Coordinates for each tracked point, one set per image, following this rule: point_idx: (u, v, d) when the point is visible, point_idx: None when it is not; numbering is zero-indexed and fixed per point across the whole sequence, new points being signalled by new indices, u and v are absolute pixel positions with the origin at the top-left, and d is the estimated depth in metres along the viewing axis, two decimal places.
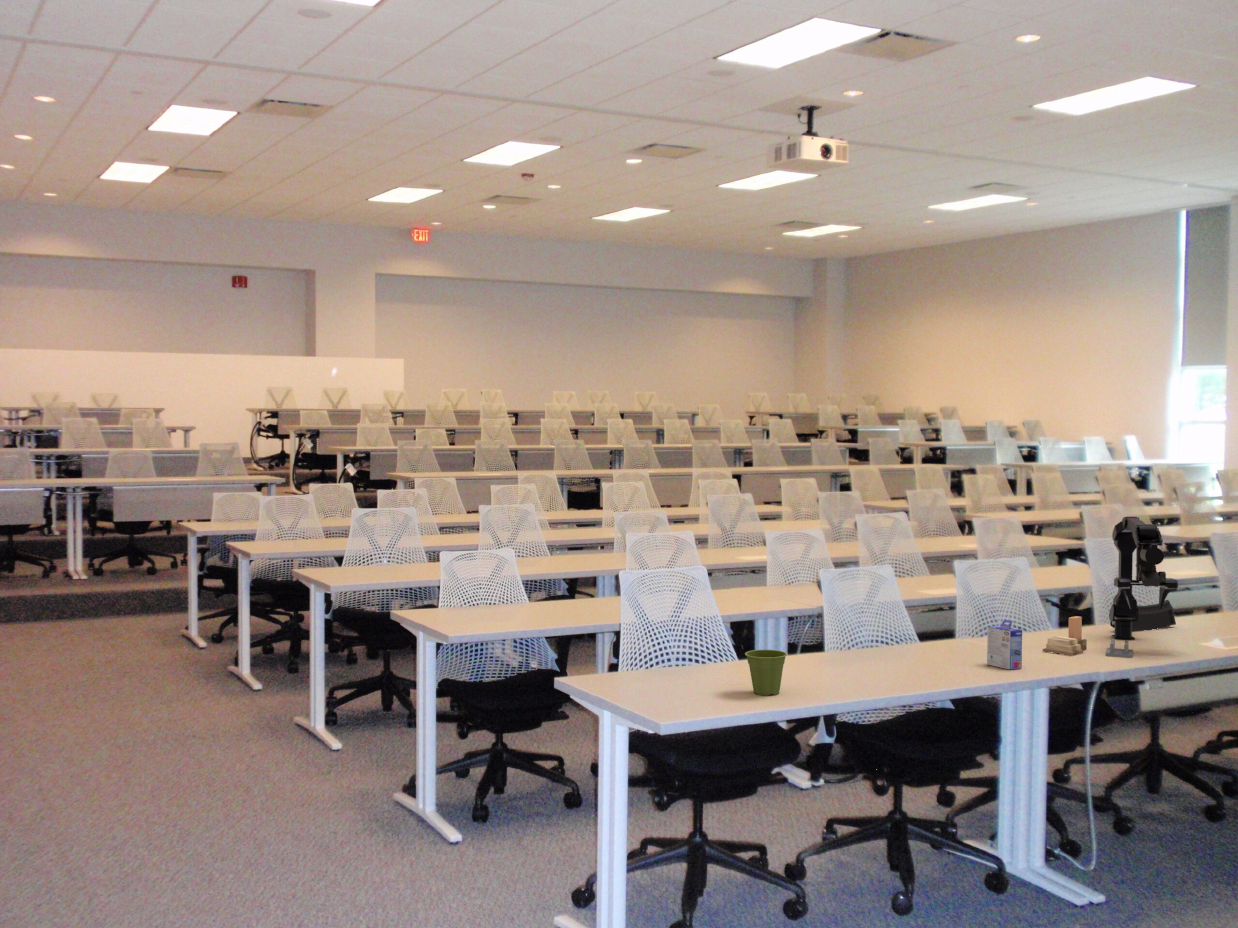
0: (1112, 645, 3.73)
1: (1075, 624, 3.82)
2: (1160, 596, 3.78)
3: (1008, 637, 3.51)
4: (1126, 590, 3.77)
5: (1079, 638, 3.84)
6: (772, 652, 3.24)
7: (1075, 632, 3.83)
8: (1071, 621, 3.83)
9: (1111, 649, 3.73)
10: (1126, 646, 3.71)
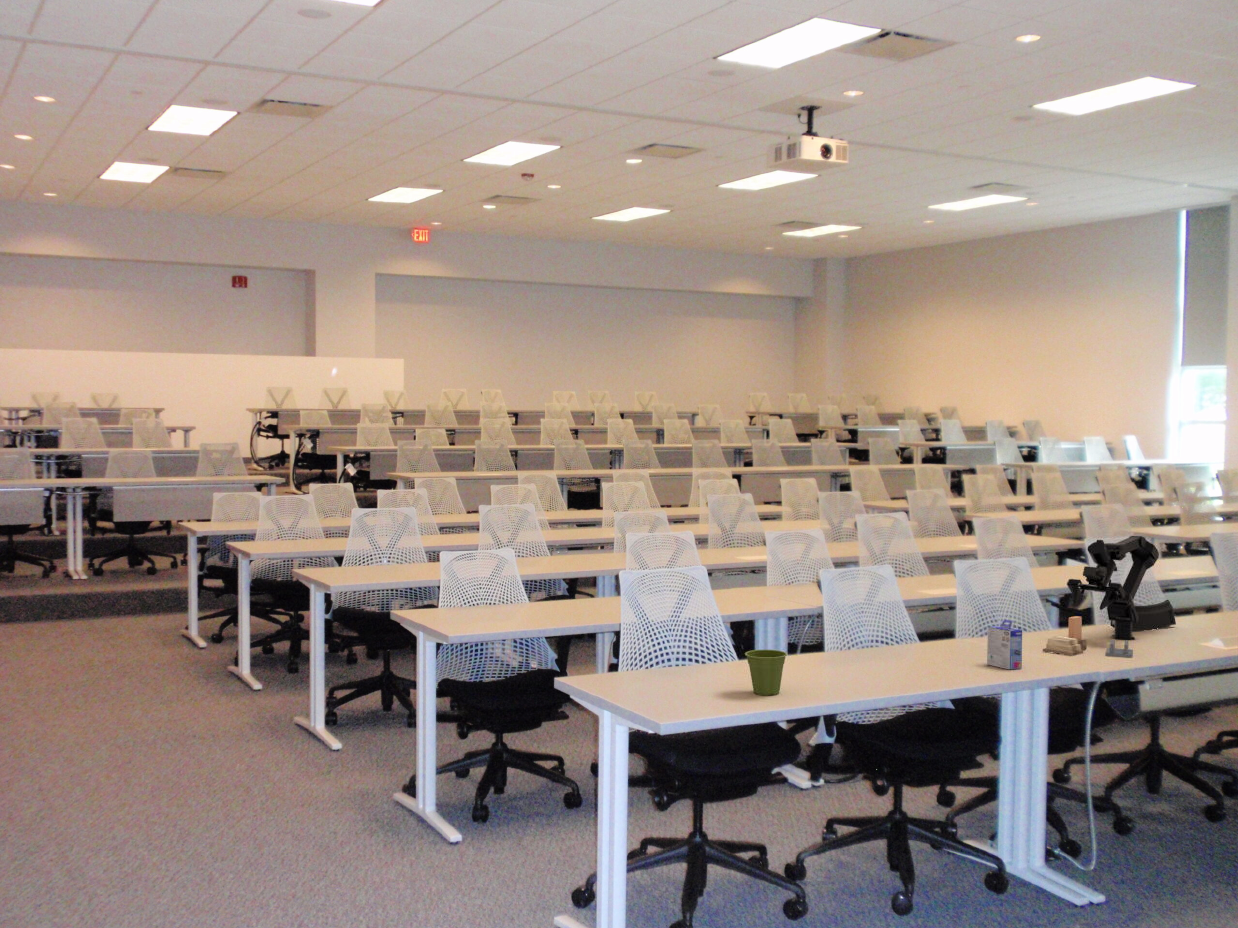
0: (1112, 645, 3.73)
1: (1075, 624, 3.82)
2: None
3: (1008, 637, 3.51)
4: (1072, 587, 3.96)
5: (1079, 638, 3.84)
6: (773, 652, 3.24)
7: (1075, 632, 3.83)
8: (1071, 621, 3.83)
9: (1111, 649, 3.73)
10: (1126, 646, 3.71)
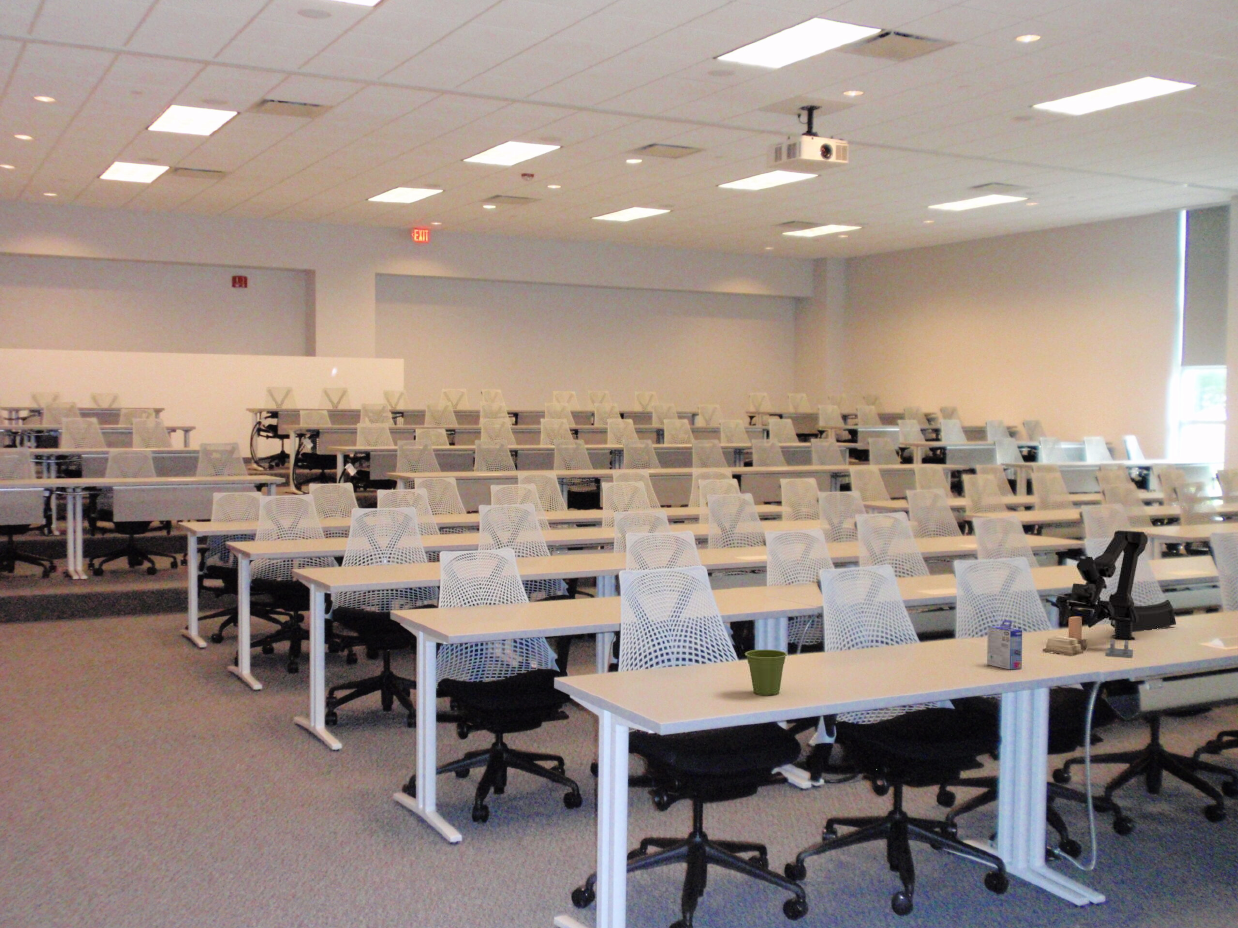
0: (1112, 645, 3.73)
1: (1075, 624, 3.82)
2: None
3: (1008, 637, 3.51)
4: (1061, 604, 3.91)
5: (1079, 638, 3.84)
6: (773, 652, 3.24)
7: (1075, 632, 3.83)
8: (1071, 621, 3.83)
9: (1111, 649, 3.73)
10: (1126, 646, 3.71)
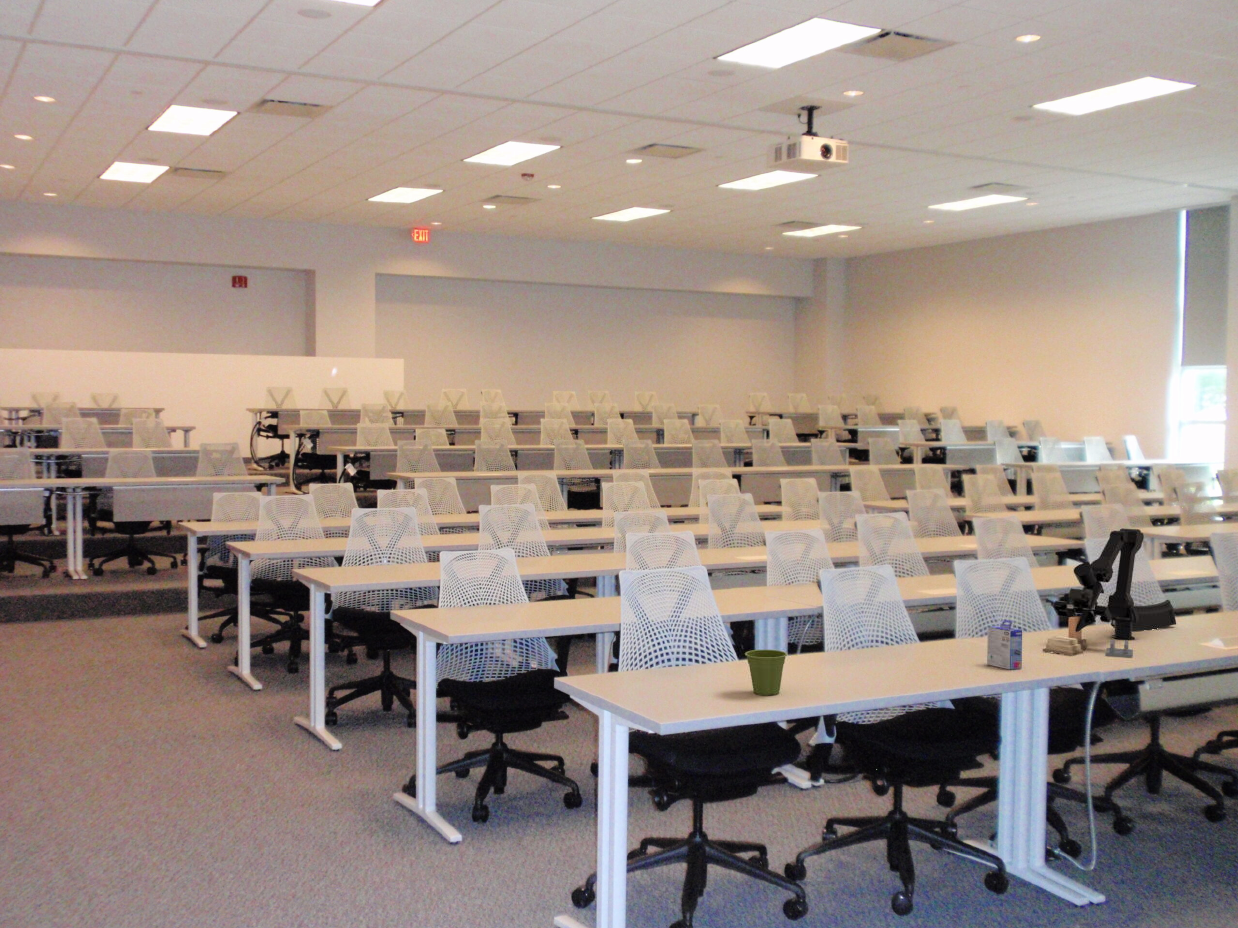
0: (1112, 645, 3.73)
1: (1075, 624, 3.82)
2: None
3: (1008, 637, 3.51)
4: (1068, 610, 3.88)
5: (1079, 638, 3.84)
6: (773, 652, 3.24)
7: (1075, 632, 3.83)
8: (1071, 621, 3.83)
9: (1111, 649, 3.73)
10: (1126, 646, 3.71)
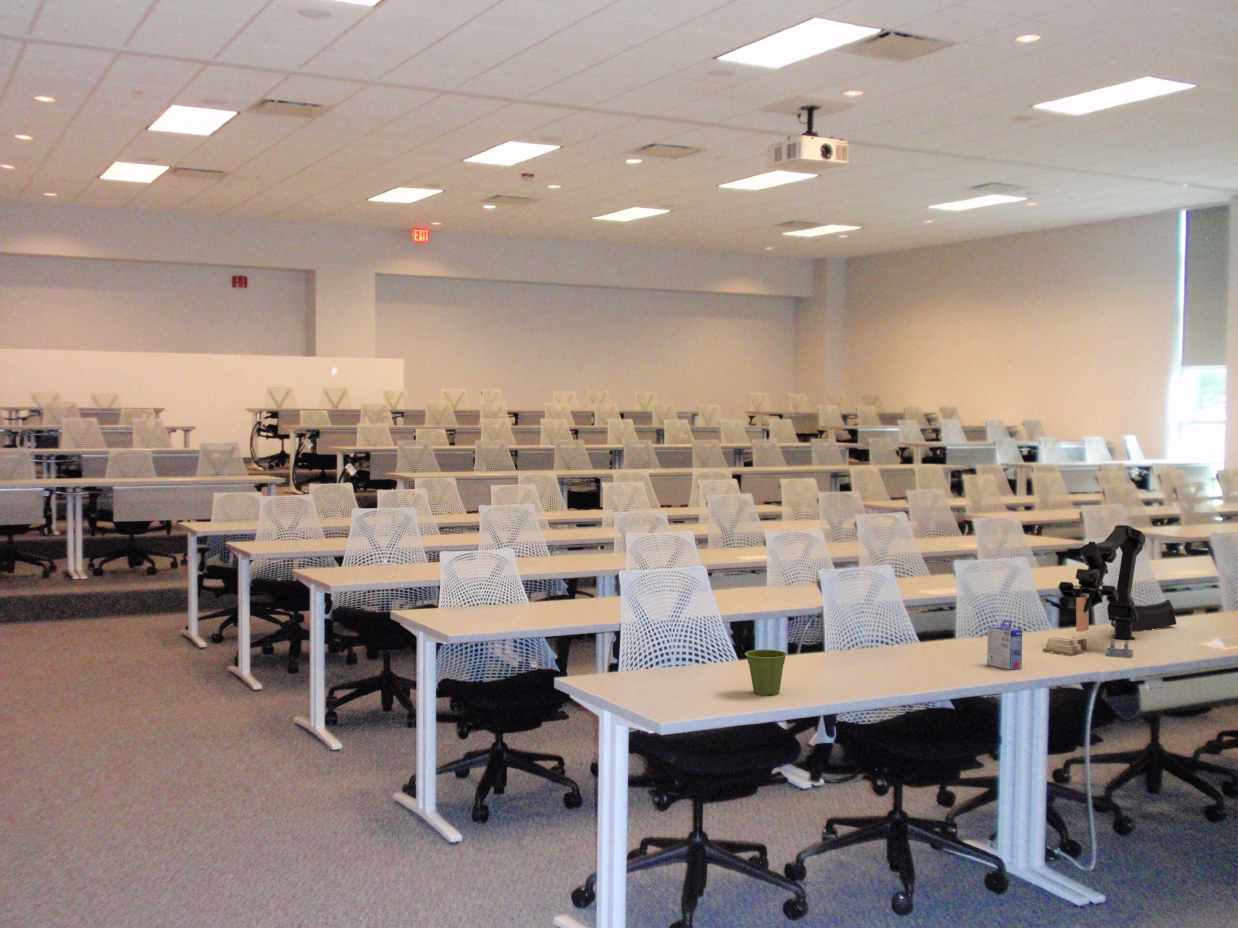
0: (1112, 645, 3.73)
1: (1083, 605, 3.80)
2: None
3: (1008, 637, 3.51)
4: (1074, 591, 3.85)
5: (1086, 619, 3.82)
6: (773, 652, 3.24)
7: (1083, 613, 3.81)
8: (1079, 602, 3.81)
9: (1111, 649, 3.73)
10: (1126, 646, 3.71)
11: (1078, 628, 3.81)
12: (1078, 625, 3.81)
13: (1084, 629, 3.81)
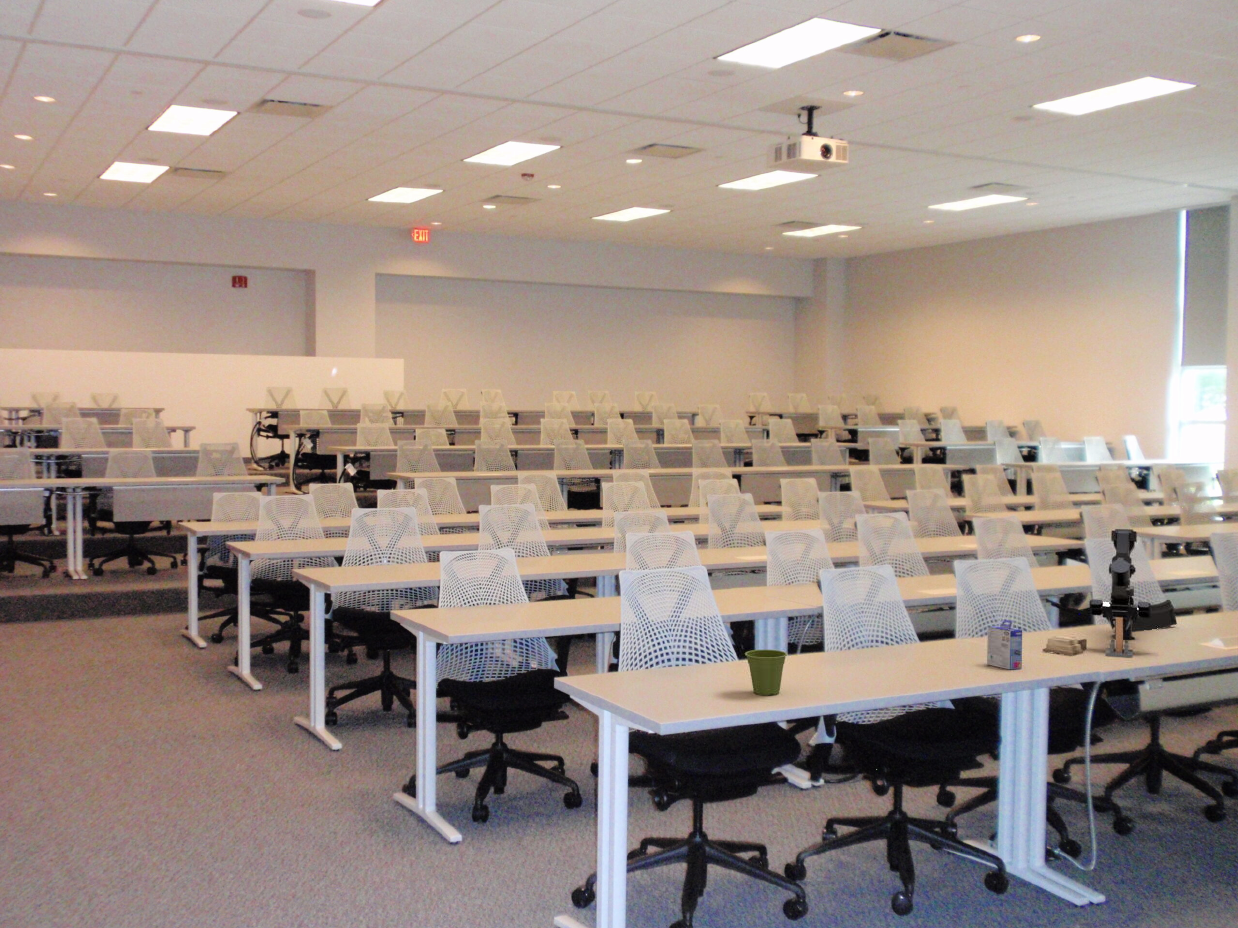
0: (1112, 645, 3.73)
1: (1122, 625, 3.74)
2: None
3: (1008, 637, 3.51)
4: (1106, 608, 3.78)
5: None
6: (772, 652, 3.24)
7: (1122, 633, 3.74)
8: (1119, 622, 3.73)
9: (1111, 649, 3.73)
10: (1126, 646, 3.71)
11: (1118, 649, 3.74)
12: (1117, 646, 3.74)
13: (1122, 650, 3.75)
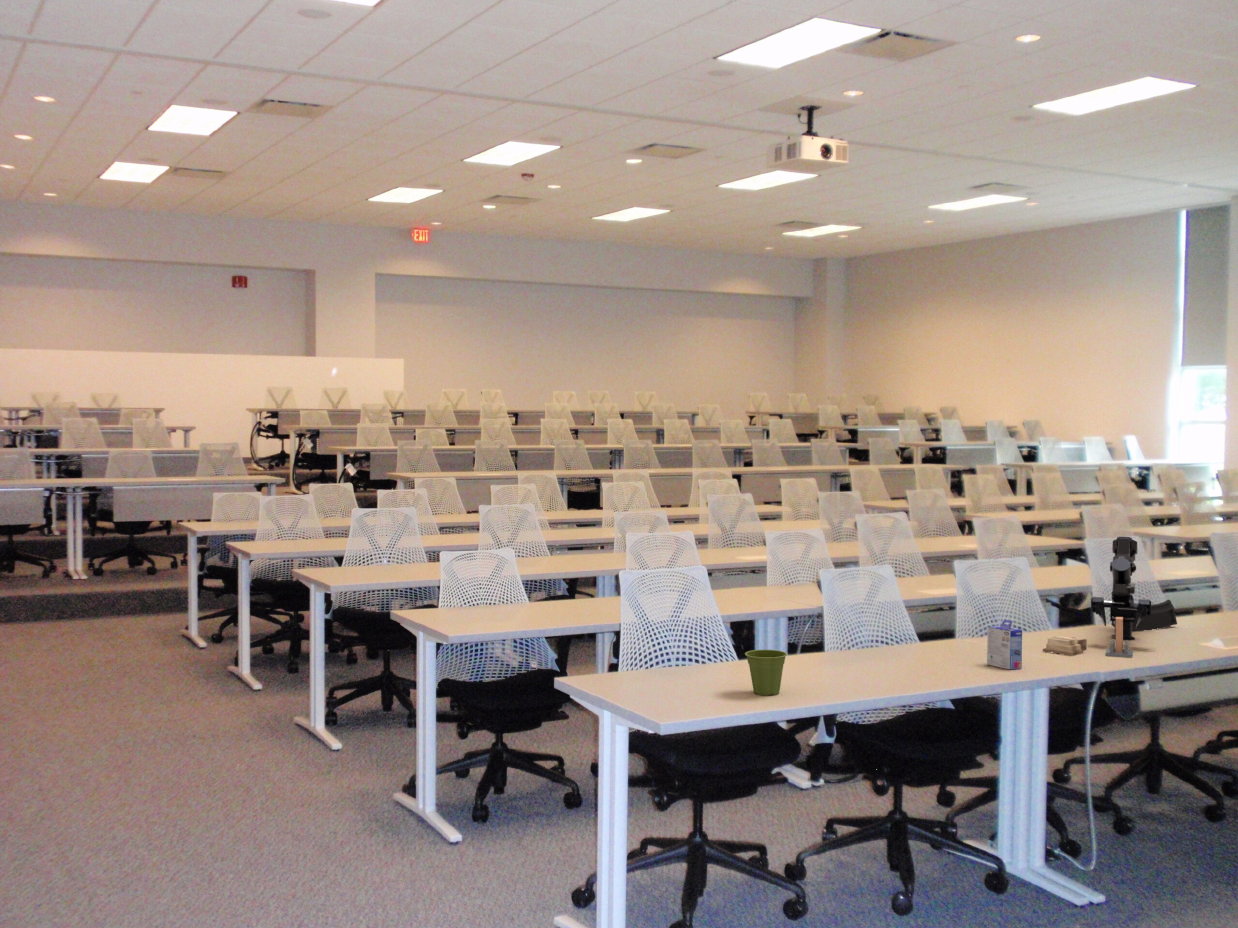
0: (1112, 645, 3.73)
1: (1122, 625, 3.74)
2: None
3: (1008, 637, 3.51)
4: (1099, 605, 3.87)
5: None
6: (773, 652, 3.24)
7: (1122, 633, 3.74)
8: (1119, 623, 3.73)
9: (1111, 649, 3.73)
10: (1126, 646, 3.71)
11: (1118, 649, 3.74)
12: (1117, 646, 3.74)
13: (1122, 650, 3.75)
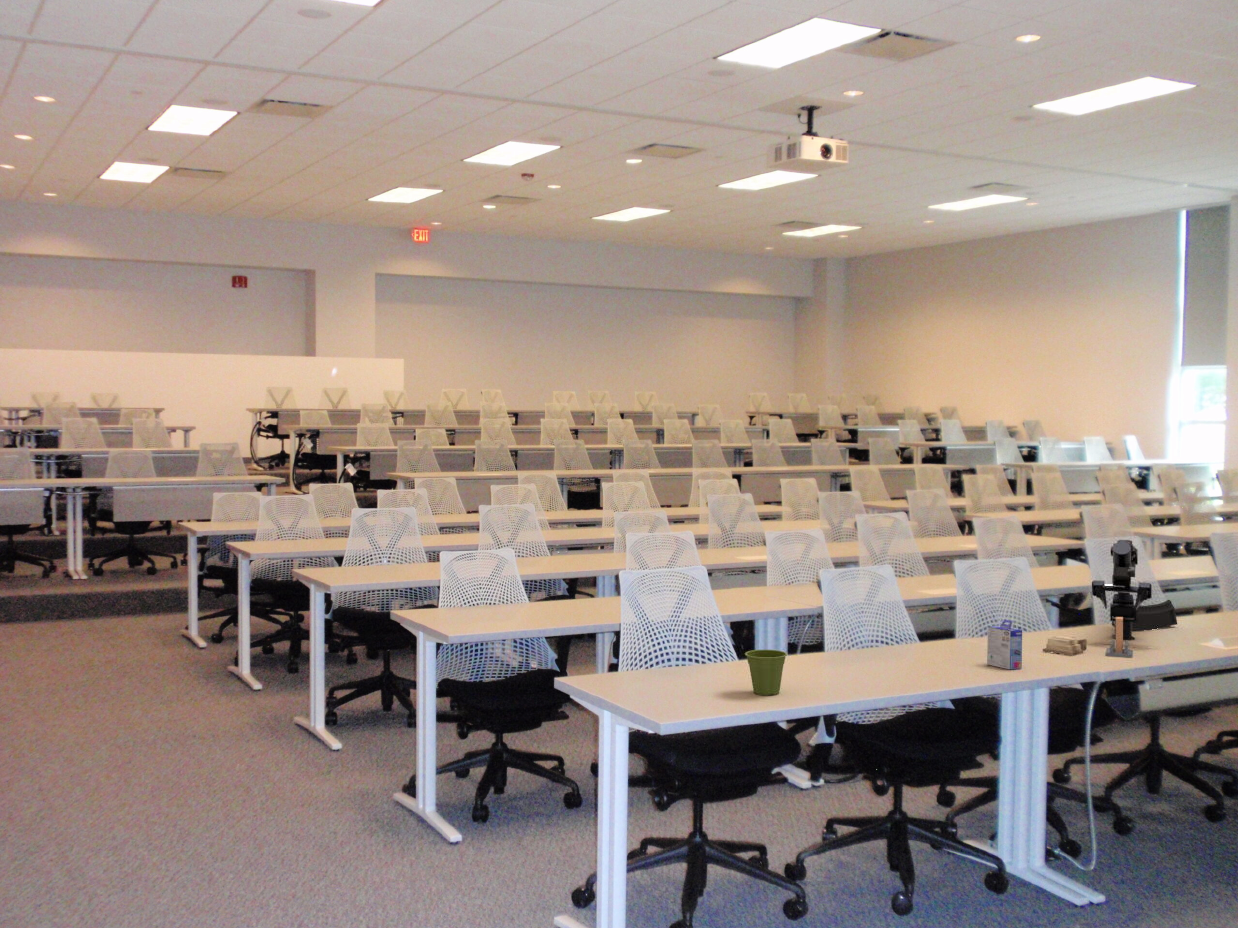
0: (1112, 645, 3.73)
1: (1122, 625, 3.74)
2: None
3: (1008, 637, 3.51)
4: (1100, 588, 3.90)
5: None
6: (773, 652, 3.24)
7: (1122, 633, 3.74)
8: (1119, 623, 3.73)
9: (1111, 649, 3.73)
10: (1126, 646, 3.71)
11: (1118, 649, 3.74)
12: (1117, 646, 3.74)
13: (1122, 650, 3.75)
